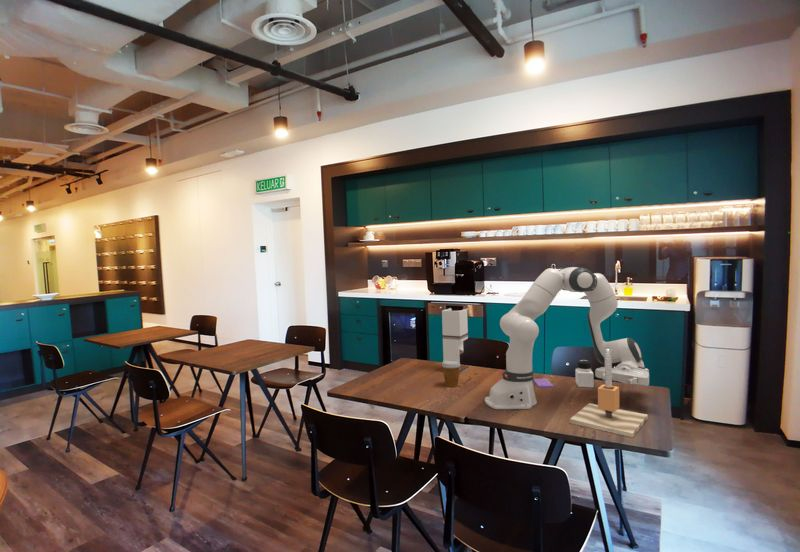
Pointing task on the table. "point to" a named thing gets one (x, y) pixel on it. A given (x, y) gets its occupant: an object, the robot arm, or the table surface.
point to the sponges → (543, 383)
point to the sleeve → (608, 398)
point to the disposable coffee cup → (451, 372)
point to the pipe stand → (610, 420)
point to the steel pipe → (608, 376)
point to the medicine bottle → (584, 374)
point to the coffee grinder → (454, 334)
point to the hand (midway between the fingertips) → (616, 380)
